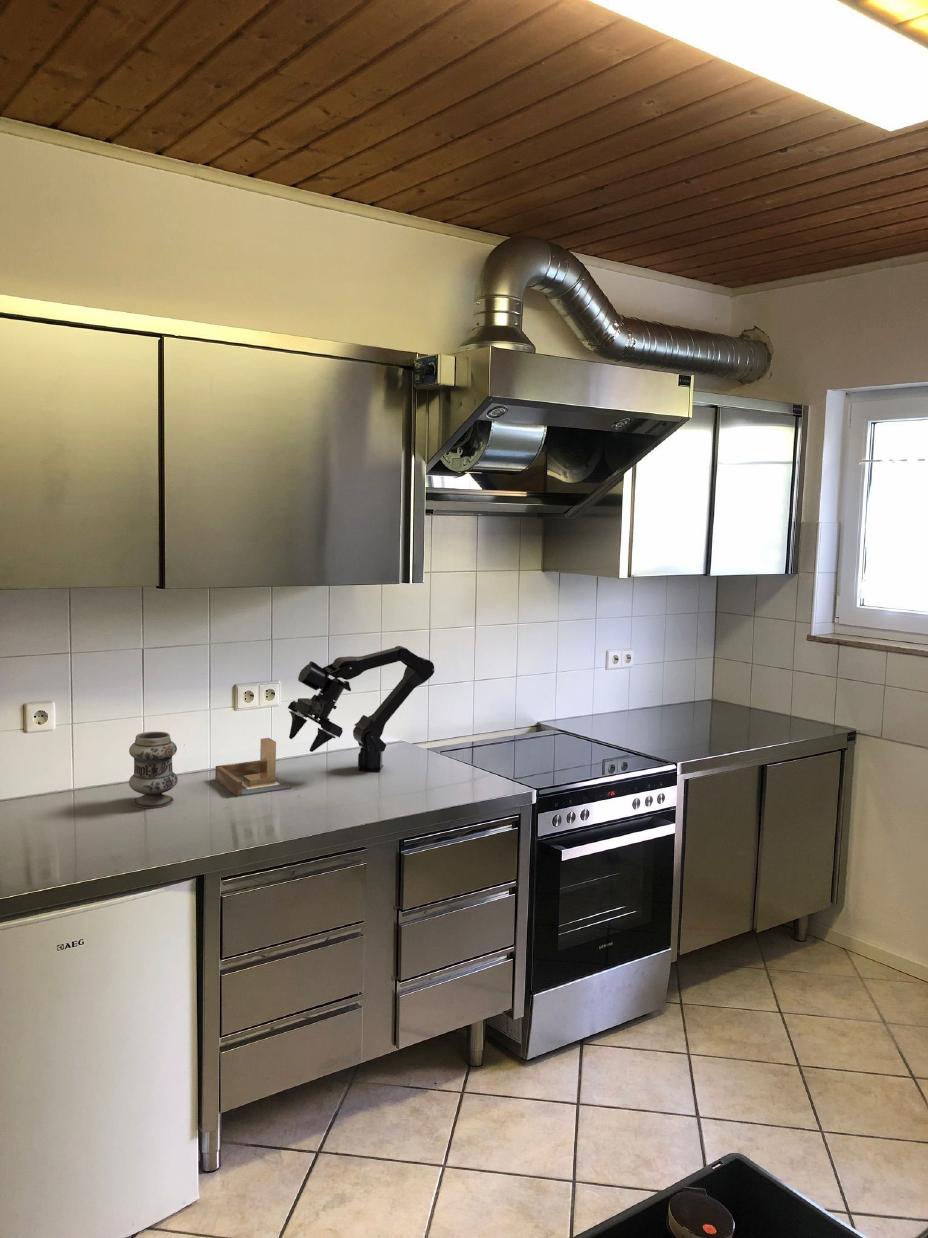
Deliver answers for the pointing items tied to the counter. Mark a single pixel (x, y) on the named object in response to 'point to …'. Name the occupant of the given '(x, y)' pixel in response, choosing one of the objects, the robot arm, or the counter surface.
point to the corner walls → (236, 774)
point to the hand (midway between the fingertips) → (300, 745)
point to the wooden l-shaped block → (264, 765)
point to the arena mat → (263, 787)
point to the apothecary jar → (153, 769)
